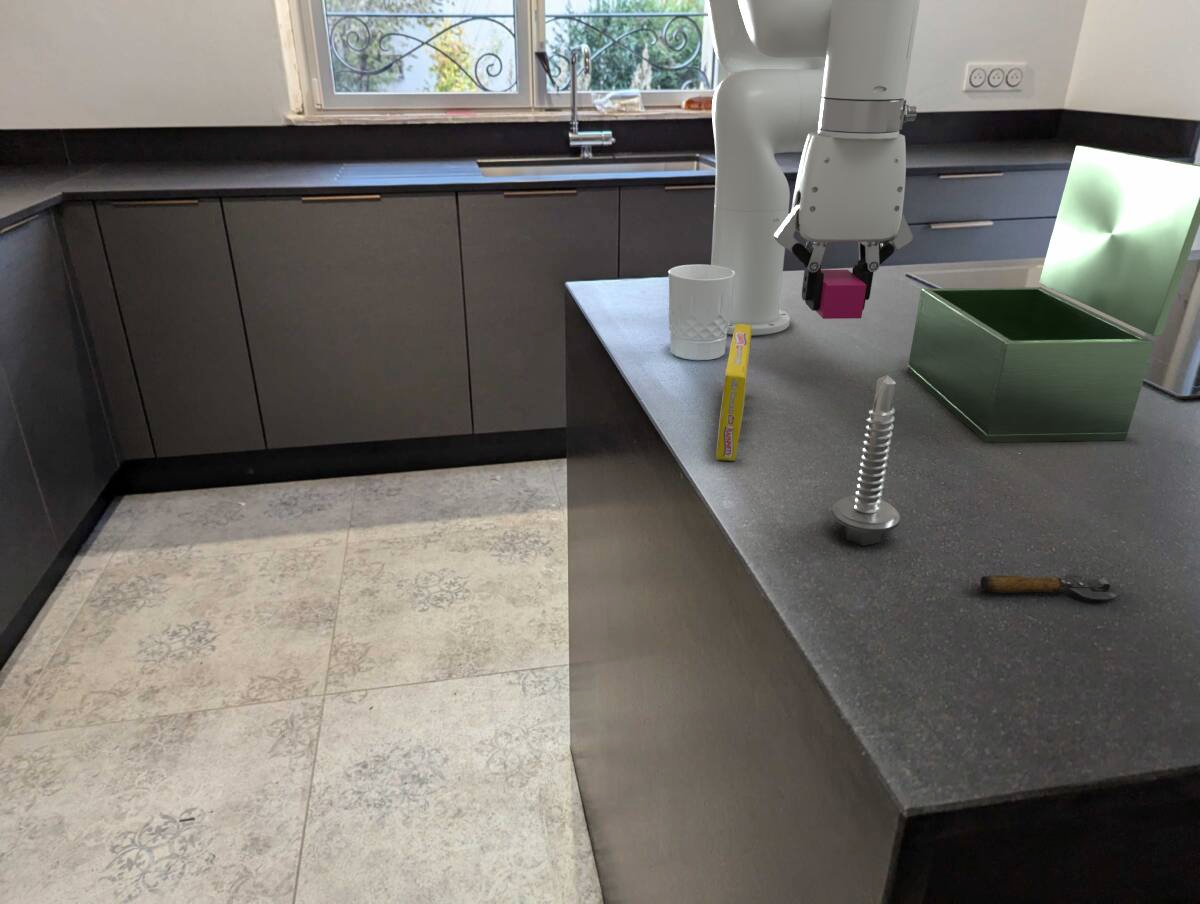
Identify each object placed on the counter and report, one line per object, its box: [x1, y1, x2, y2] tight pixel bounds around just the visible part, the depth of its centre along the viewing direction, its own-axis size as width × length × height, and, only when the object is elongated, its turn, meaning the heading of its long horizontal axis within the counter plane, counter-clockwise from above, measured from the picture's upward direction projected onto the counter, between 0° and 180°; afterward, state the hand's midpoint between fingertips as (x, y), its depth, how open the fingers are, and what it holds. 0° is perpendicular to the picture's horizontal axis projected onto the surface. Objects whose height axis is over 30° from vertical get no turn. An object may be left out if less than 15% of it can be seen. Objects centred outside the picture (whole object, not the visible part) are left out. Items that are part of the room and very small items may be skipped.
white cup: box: [668, 263, 735, 361], centre depth 100 cm, size 8×8×10 cm
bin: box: [906, 286, 1156, 444], centre depth 85 cm, size 14×20×10 cm
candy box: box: [715, 324, 752, 462], centre depth 79 cm, size 16×2×8 cm, turn 168°
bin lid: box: [1038, 145, 1200, 337], centre depth 80 cm, size 14×20×6 cm
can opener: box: [980, 573, 1122, 601], centre depth 56 cm, size 9×2×1 cm, turn 83°
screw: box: [831, 374, 901, 547], centre depth 60 cm, size 13×5×5 cm
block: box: [815, 269, 866, 320], centre depth 86 cm, size 4×6×4 cm, turn 2°
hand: (834, 304), depth 86 cm, fingers closed on block, 4 cm apart
